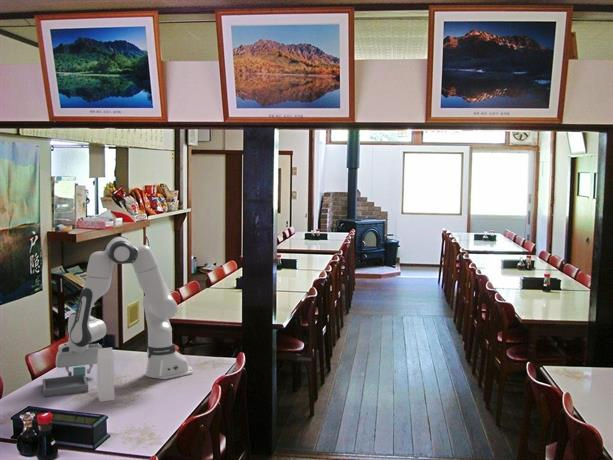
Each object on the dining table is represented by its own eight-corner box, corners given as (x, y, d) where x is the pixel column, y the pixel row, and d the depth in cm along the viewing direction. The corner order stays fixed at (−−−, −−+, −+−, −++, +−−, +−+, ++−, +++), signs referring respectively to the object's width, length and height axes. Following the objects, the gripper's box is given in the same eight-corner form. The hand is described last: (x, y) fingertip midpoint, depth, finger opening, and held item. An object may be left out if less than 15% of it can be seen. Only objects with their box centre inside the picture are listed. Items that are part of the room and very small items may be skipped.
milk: (97, 397, 263) (96, 347, 261) (112, 395, 266) (111, 345, 264) (99, 402, 258) (98, 350, 256) (114, 399, 260) (113, 348, 258)
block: (84, 375, 291) (84, 365, 291) (85, 378, 287) (85, 368, 286) (73, 377, 289) (73, 366, 289) (74, 380, 285) (73, 369, 284)
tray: (84, 380, 284) (84, 374, 284) (88, 391, 270) (88, 384, 270) (42, 385, 277) (42, 379, 277) (43, 397, 262) (43, 390, 262)
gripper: (101, 341, 294) (101, 369, 295) (55, 346, 285) (55, 375, 286) (102, 344, 288) (103, 373, 289) (55, 349, 280) (56, 379, 281)
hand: (79, 374), depth 288 cm, fingers open, 7 cm apart
